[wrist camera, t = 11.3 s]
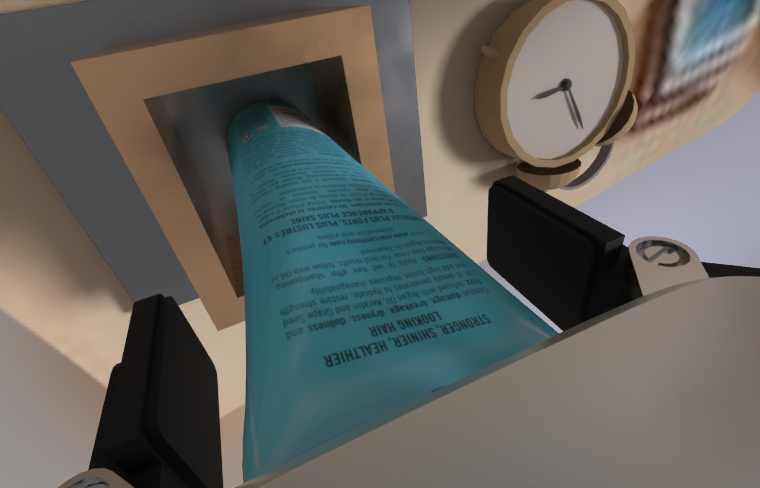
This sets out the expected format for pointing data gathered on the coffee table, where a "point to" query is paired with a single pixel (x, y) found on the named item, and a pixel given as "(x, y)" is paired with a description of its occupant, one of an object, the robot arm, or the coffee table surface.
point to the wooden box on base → (199, 118)
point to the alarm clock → (557, 88)
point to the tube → (347, 293)
